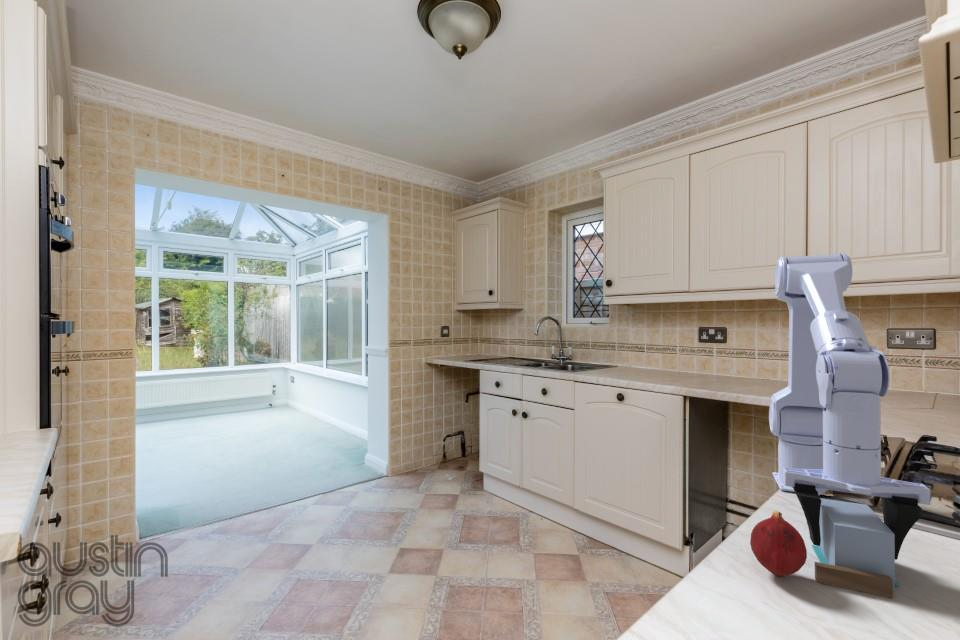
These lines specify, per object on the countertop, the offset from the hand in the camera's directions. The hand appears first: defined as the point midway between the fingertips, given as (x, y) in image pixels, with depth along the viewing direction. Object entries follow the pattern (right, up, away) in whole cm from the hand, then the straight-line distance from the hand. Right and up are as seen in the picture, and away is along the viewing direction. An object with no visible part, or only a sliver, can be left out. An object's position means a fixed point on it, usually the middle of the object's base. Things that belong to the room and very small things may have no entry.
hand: (851, 548), depth 57 cm
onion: (-11, -2, -2) cm, 12 cm away
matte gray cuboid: (0, -2, 0) cm, 2 cm away
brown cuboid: (-4, -2, -5) cm, 7 cm away
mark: (0, -2, 0) cm, 2 cm away
